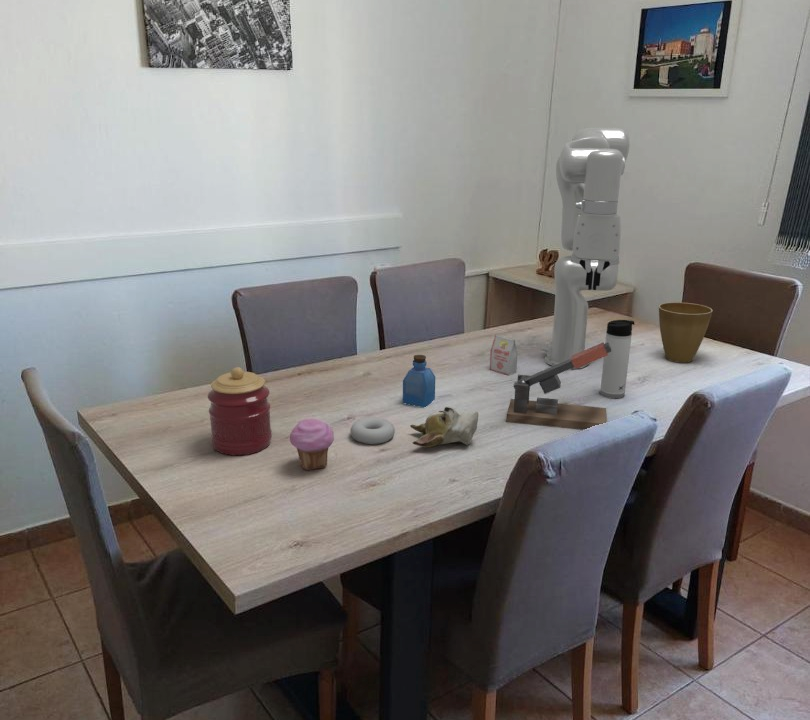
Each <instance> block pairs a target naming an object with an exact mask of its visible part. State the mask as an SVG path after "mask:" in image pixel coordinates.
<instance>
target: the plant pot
mask: <svg viewBox="0 0 810 720" xmlns="http://www.w3.org/2000/svg"><path fill="white" fill-rule="evenodd" d="M712 314H713V309H712V308H711V307H709V306H707V305H704V304H698V303H691V302H690V303H689V302H674V301H673V302H663V303H661V304H659V305H658V318H659V320H658V321H659V322H658V323H659V330H660V338H661V343H662V347H663V351H664V354H665V358H666V359H667V360H668V361H671V362H673V363H674V362H675V363H681V364H684V363H691V362H692V361H693V359H694V358H695V356H696V355H697V354H698V353H697V352H698V350H699V348H700V347H701V345H702V343H703V340H704V338H705V335H706V332H707V330H708V328H709V324H710V322H711V318H712Z"/></svg>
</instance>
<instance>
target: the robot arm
mask: <svg viewBox="0 0 810 720" xmlns="http://www.w3.org/2000/svg"><path fill="white" fill-rule="evenodd" d="M629 151H630V137H629V134H628V133H627V131H626V130H625V129H623V128H620V127H586V128H585V127H584V128H582V129H580V130H578V131H576V133H575V134H574V136H573V138H572V140H571V141H568V142H566V143H565V144H564V146H563V147H562V149H561V152H560V155H559V156H558V158H557V160H556V163H555V177H556V182H557V183H556V184H557V187H558V191H559V193H560V196H561V201H562V202H561V203H562V208H561V209H562V210H561V212H562V213H561V236H560V237H561V246H562V248H563V249H565V250H566V251H569V252H572V255H568V256H567V255H566V256H563V257H560V258H558V259H557V261H556V262H555V264H554V269H553V273H554V288H555V289H554V293H555V294H554V310H553V311H554V313H553V325H552V335H551V336H552V337H551V343H549V342H546V341H545V342H542V344H541V345H542V346H541V347H540V350H541V351H545V352H547V354H546V355H545V357H544V361H545V363H546V364H548V365H550V366H551V367H552V366H554V365H557V364H559V363H561V362H564V361H566V360H568V359H571V356H572V355H575V354H577V353H579V352H582V351H584V350H585V348H586V347H585V346H586V336H587V327H588V326H587V325H588V315H589V303H588V301H587V300H586V298H585V296H584V295H583V294H582V293H581V291H599V292H601V291H603V292H605V291H611V290H613V289H615V287H616V285H617V282H618V277H619V275H618V274H619V264H620V258H619V257H620V256H619V255H620V250H621V249H620V246H621V233H622V231H621V230H622V226H621V222H622V221H621V215H620V214H617V213H618V206H619V196H620V195H619V194H620V186H621V185H620V183H621V177H622V176H623V175H624V173H625V168H626V162H627V159H628V156H629ZM583 184H584V185H583ZM588 365H589V364H586V365H584V366H582V367H579V368H578V369H582V368H585V367H587V366H588ZM572 369H573V370H576V369H575V367H574V368H571V369H570V370H572Z"/></svg>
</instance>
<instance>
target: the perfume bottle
mask: <svg viewBox="0 0 810 720" xmlns="http://www.w3.org/2000/svg"><path fill="white" fill-rule="evenodd" d="M426 359H427V356H426V355H424V354H416V355H413V360H412V366H413V367H412V368H411V369H409V370H408V371H407V373H406V374H405V377H404V378H403V379H402V404H403V403H406V404H405V405H408V404H410V405H409V406H413V405H415V407H418V406H420V408H424V407H426V406H427V407H428V406H430V404H432V403H433V402H434V401H435V400H436V375H435V373H434V372H433V371H432V369H431V368H430V367H426V366H427V360H426ZM433 400H434V401H433ZM432 401H433V402H432ZM427 407H426V408H427Z"/></svg>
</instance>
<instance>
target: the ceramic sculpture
mask: <svg viewBox="0 0 810 720" xmlns="http://www.w3.org/2000/svg"><path fill="white" fill-rule="evenodd" d="M478 422H479V412H478V411H475V412H467V413H465V414H460V413H458V411H457V410H456V409H454V408H452V407H448V406H446V407H444V409H443V410H439V411H433V412H432V413H430V415H428V416H427V417H426V420H425V422H424V423H421V424H419V425H415V424H411V425H410V428H411V429H413V430H415V431H417V432H419V433H421V434H424V435H421V436H420V437H418V439H417V440H414V441H413V442H412V444H413V445H416V446H419V447H422V448H433V447H435V446H439V445H446V444H451V443H457V442H461V443H463V444H464V445H467V446H468V445H469V444H470V443H471V442H472V439H473V436H474V434H475V433H476V431H477V429H478Z"/></svg>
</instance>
